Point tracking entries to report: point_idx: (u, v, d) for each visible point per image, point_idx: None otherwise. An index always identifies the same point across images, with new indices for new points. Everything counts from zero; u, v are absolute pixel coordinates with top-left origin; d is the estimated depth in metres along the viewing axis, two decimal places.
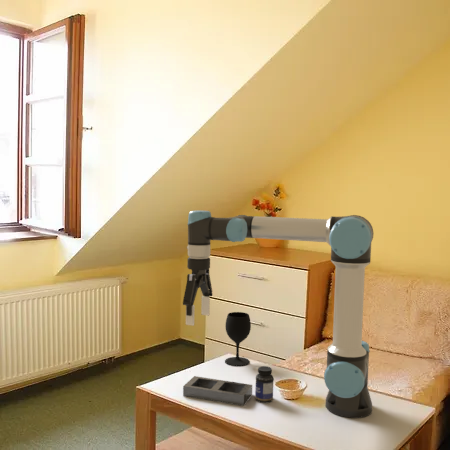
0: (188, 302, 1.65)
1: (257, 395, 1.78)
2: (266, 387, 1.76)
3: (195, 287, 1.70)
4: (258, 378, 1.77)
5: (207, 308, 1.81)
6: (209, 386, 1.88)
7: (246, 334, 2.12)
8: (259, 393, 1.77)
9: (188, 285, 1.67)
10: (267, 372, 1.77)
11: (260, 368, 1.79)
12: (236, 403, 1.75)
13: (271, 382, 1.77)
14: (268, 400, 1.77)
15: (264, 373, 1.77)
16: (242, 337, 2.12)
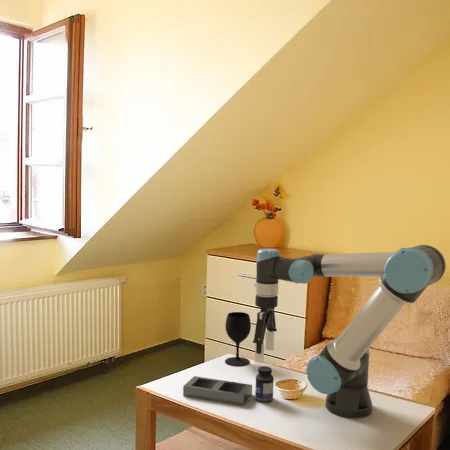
0: (259, 341, 1.68)
1: (257, 395, 1.78)
2: (266, 387, 1.76)
3: (264, 325, 1.73)
4: (258, 378, 1.77)
5: (271, 343, 1.84)
6: (209, 386, 1.88)
7: (246, 334, 2.12)
8: (259, 393, 1.77)
9: (258, 324, 1.71)
10: (267, 372, 1.77)
11: (260, 368, 1.79)
12: (236, 403, 1.75)
13: (271, 382, 1.77)
14: (268, 400, 1.77)
15: (264, 373, 1.77)
16: (242, 337, 2.12)
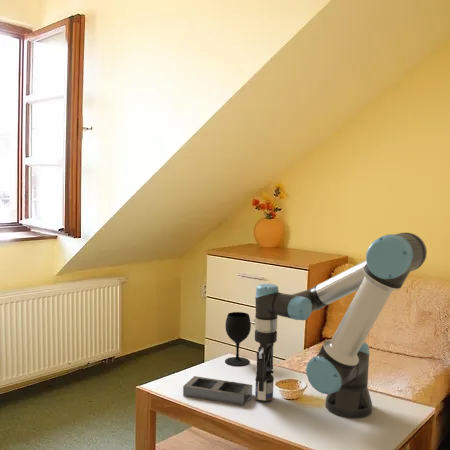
0: (261, 379, 1.73)
1: (257, 395, 1.78)
2: (266, 387, 1.76)
3: (265, 362, 1.75)
4: None
5: None
6: (209, 386, 1.88)
7: (246, 334, 2.12)
8: None
9: (259, 364, 1.73)
10: (267, 372, 1.77)
11: None
12: (236, 403, 1.75)
13: (271, 382, 1.77)
14: (268, 400, 1.77)
15: None
16: (242, 337, 2.12)
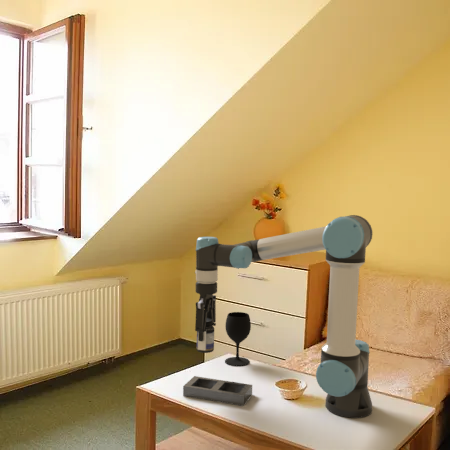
0: (200, 329, 1.76)
1: None
2: (206, 337, 1.80)
3: (204, 313, 1.79)
4: None
5: None
6: (209, 386, 1.88)
7: (246, 334, 2.12)
8: None
9: (198, 313, 1.76)
10: (207, 322, 1.80)
11: None
12: (236, 403, 1.75)
13: (211, 332, 1.80)
14: (208, 350, 1.80)
15: None
16: (242, 337, 2.12)
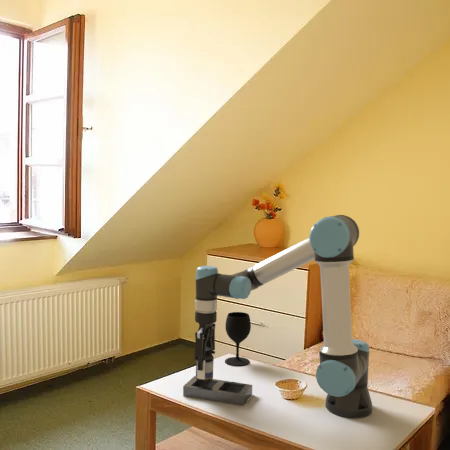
0: (199, 358, 1.77)
1: None
2: (205, 366, 1.81)
3: (204, 342, 1.80)
4: None
5: None
6: (209, 386, 1.88)
7: (246, 334, 2.12)
8: None
9: (197, 343, 1.77)
10: (206, 352, 1.81)
11: None
12: (236, 403, 1.75)
13: (210, 361, 1.81)
14: (207, 379, 1.81)
15: None
16: (242, 337, 2.12)
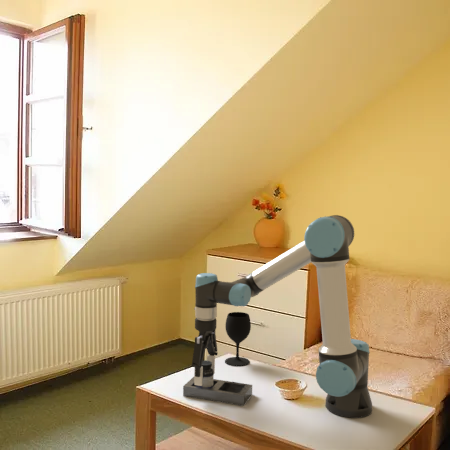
0: (197, 365, 1.74)
1: None
2: (205, 381, 1.81)
3: (203, 348, 1.79)
4: None
5: (212, 367, 1.89)
6: None
7: (246, 334, 2.12)
8: None
9: (196, 348, 1.76)
10: (206, 366, 1.81)
11: None
12: (236, 403, 1.75)
13: (210, 376, 1.82)
14: None
15: (203, 367, 1.81)
16: (242, 337, 2.12)
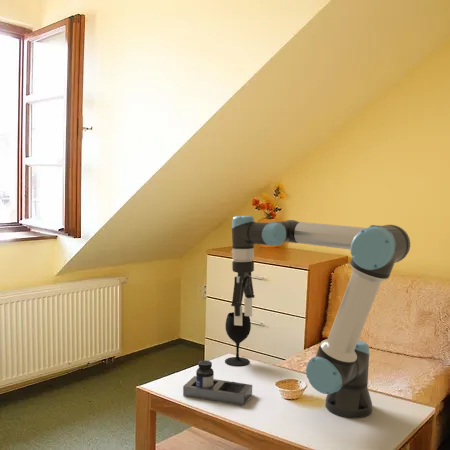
0: (237, 303, 1.73)
1: None
2: (205, 381, 1.81)
3: (242, 289, 1.78)
4: (198, 372, 1.82)
5: (250, 309, 1.89)
6: None
7: (246, 334, 2.12)
8: None
9: (236, 287, 1.76)
10: (206, 366, 1.81)
11: (200, 362, 1.84)
12: (236, 403, 1.75)
13: (210, 376, 1.82)
14: None
15: (203, 367, 1.81)
16: (242, 337, 2.12)
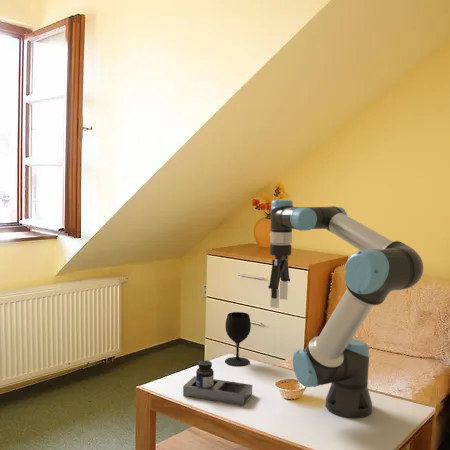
0: (275, 285, 1.76)
1: None
2: (205, 381, 1.81)
3: (279, 272, 1.80)
4: (198, 372, 1.82)
5: (285, 292, 1.92)
6: None
7: (246, 334, 2.12)
8: None
9: (273, 270, 1.78)
10: (206, 366, 1.81)
11: (200, 362, 1.83)
12: (236, 403, 1.75)
13: (210, 376, 1.82)
14: None
15: (203, 367, 1.81)
16: (242, 337, 2.12)
